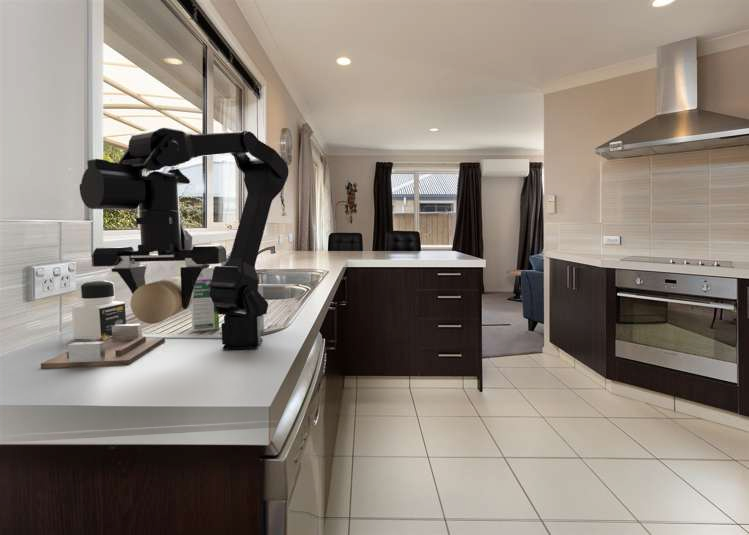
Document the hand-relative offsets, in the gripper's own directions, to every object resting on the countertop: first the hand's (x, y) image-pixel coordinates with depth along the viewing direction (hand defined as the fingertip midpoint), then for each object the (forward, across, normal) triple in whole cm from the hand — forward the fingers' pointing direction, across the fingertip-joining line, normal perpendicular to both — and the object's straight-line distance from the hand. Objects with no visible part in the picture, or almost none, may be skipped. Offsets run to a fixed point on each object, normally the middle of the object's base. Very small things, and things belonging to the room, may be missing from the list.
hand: (165, 309), depth 70 cm
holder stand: (+10, +15, -12) cm, 21 cm away
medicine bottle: (+10, +24, -27) cm, 37 cm away
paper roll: (+1, 0, 0) cm, 1 cm away
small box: (+10, -7, -29) cm, 31 cm away
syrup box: (+10, +3, -31) cm, 33 cm away
